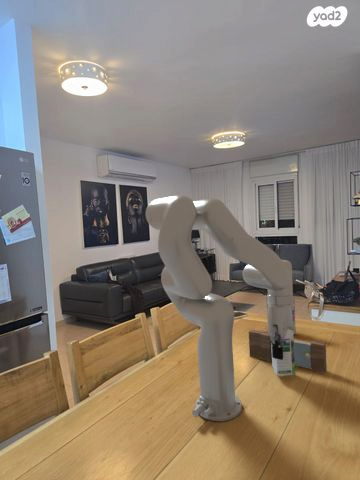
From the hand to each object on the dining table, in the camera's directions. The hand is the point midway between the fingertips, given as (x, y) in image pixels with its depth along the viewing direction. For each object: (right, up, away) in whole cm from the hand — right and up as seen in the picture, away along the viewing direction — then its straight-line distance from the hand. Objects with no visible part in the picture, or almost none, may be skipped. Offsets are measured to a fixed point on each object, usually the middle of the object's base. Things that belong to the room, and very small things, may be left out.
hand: (282, 353), depth 100 cm
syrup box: (0, -6, 0) cm, 6 cm away
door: (+6, -6, +7) cm, 11 cm away
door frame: (+4, -7, +9) cm, 12 cm away
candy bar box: (+12, -5, +37) cm, 39 cm away
